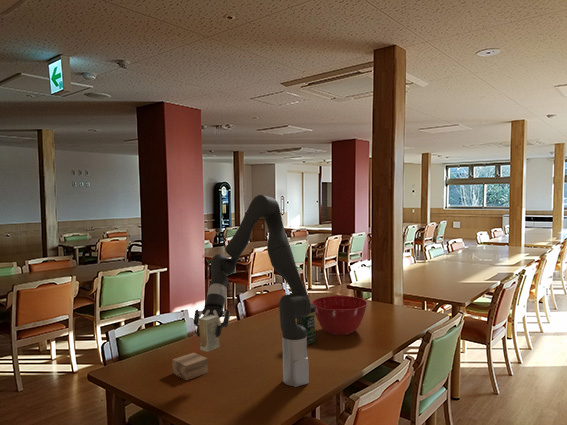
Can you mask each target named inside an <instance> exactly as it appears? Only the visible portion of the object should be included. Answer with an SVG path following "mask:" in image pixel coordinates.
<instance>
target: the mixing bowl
mask: <svg viewBox="0 0 567 425" xmlns="http://www.w3.org/2000/svg"><path fill="white" fill-rule="evenodd" d="M311 304H314V306H315V317H316V319H317V321H318V323H319V325H320V327H321V328H322V330H324V332H326V333H328V334H330V335H333V336H348V335H351V334H353V332H356V331H357V330H358V329H359V327H360V325H361V323H362V320H363V318H364V316H365V312H366V308H367V306H368V301H367V300H366V299H364V298H360V297H357V296H350V295H330V296H323V297H318V298H315V299H313V300H312V301H311Z"/></svg>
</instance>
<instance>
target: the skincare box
mask: <svg viewBox="0 0 567 425" xmlns="http://www.w3.org/2000/svg"><path fill="white" fill-rule="evenodd" d="M217 326H218V316H214V315H208V316H205V317H203V316H202V317H199V334H200V337H199V350H200V351H203V352H207V353H208V352H211V351H213V350H215V349H218V348H220V336H219V337H216V329H217Z"/></svg>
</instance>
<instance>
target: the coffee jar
mask: <svg viewBox="0 0 567 425" xmlns="http://www.w3.org/2000/svg"><path fill="white" fill-rule="evenodd" d="M310 304H311V311H310V314H309V315H308V316H305V317H301V318H296V325H299V326H303V327H305V328H306V331H307V346H308V345H311V344H315V343H316V341H317V338H316V336H317V334H316V326H315V324H316V323H315V317H316V314H315V306H314V304H312V303H310Z"/></svg>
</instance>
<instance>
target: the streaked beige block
mask: <svg viewBox="0 0 567 425" xmlns="http://www.w3.org/2000/svg"><path fill="white" fill-rule="evenodd" d="M208 360H209V359H208V357H205V356H203V355H201V354H198V353H196V352H190V353H188V354H184V355H182V356H178V357H176V358H172V360H171V361H172V374H173V373H174V374H173V375H175V374H176V375H175V376H177V375H178V376H177V377H179V376H180V377H179V378H181V379H182V378H183V380H184V379H185V381H189V379H190V380H192V379H195V378H197V377H200V376H203V375H206V374H208V373H209V361H208Z"/></svg>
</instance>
